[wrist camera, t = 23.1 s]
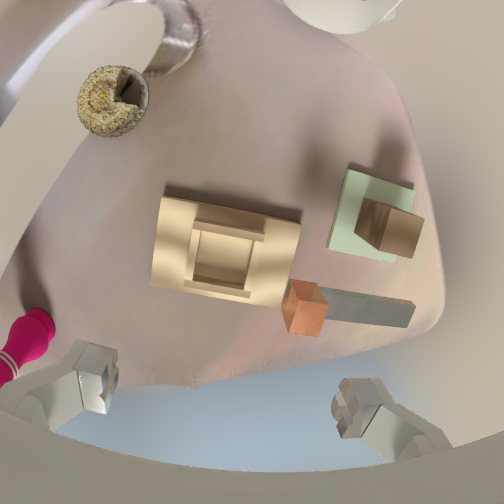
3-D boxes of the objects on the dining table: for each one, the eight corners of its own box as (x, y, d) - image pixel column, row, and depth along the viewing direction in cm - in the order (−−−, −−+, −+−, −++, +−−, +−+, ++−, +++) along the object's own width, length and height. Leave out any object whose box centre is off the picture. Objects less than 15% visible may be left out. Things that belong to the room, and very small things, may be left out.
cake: (99, 152, 37) (82, 153, 31) (72, 94, 33) (53, 88, 28) (162, 111, 36) (152, 106, 31) (131, 53, 33) (118, 41, 27)
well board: (164, 195, 39) (157, 199, 35) (299, 222, 41) (305, 229, 38) (152, 280, 42) (146, 291, 39) (277, 303, 45) (281, 315, 41)
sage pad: (346, 168, 39) (349, 169, 38) (412, 190, 41) (415, 191, 40) (326, 246, 42) (328, 249, 41) (391, 260, 44) (394, 263, 43)
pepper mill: (37, 298, 42) (-32, 367, 23) (65, 330, 44) (8, 410, 25) (19, 317, 43) (-42, 383, 24) (45, 347, 45) (-7, 421, 26)
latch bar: (289, 278, 33) (299, 300, 28) (411, 298, 35) (431, 318, 30) (280, 308, 34) (288, 333, 29) (400, 324, 36) (419, 345, 31)
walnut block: (363, 197, 39) (391, 208, 32) (393, 206, 40) (424, 218, 32) (353, 232, 41) (378, 250, 33) (383, 240, 42) (412, 258, 34)
